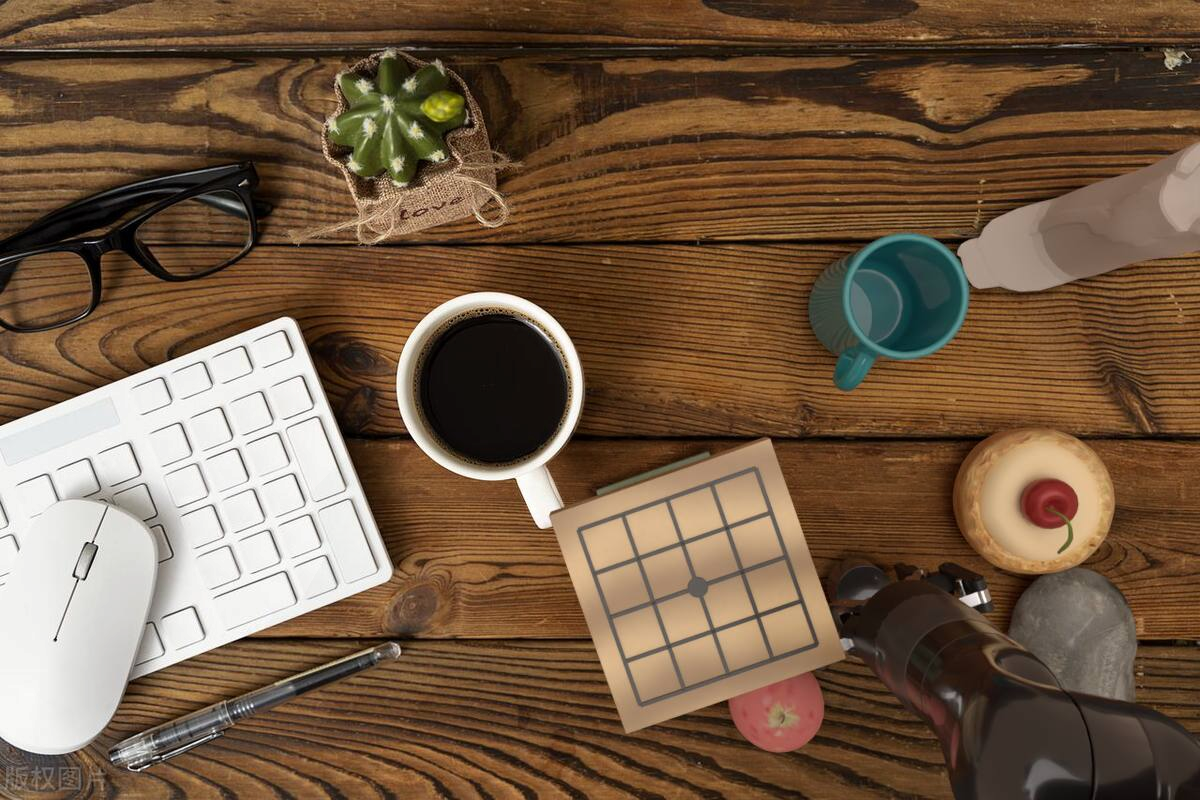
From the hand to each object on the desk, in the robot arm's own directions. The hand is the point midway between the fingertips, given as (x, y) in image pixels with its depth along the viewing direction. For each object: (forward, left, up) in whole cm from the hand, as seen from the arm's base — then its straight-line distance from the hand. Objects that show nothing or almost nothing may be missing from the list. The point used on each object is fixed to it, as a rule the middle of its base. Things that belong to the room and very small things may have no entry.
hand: (858, 589), depth 71 cm
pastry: (+3, -15, -2) cm, 15 cm away
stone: (-11, -15, -2) cm, 19 cm away
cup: (+21, -7, -2) cm, 22 cm away
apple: (-6, +10, -2) cm, 11 cm away
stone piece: (0, 0, -1) cm, 1 cm away
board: (+10, +13, -1) cm, 16 cm away
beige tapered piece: (+22, -24, -2) cm, 33 cm away
